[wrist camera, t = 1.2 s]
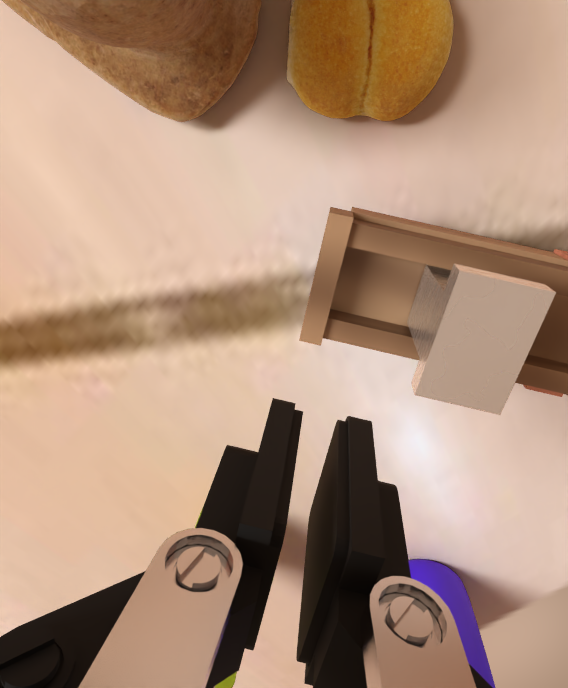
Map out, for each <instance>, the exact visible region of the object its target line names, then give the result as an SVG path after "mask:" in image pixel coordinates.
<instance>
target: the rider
mask: <svg viewBox="0 0 568 688" xmlns="http://www.w3.org/2000/svg"><path fill="white" fill-rule="evenodd" d="M555 294H556V292H555V291H553V290H552V289H551V288H549V287H548V286H547V285H545V284H541V283H537V282H533V281H528V280H524V279H520V278H515V277H511V276H506V275H502V274H498V273H493V272H489V271H484V270H480V269H476V268H471V267H467V266H462V265H458V264H453V267H452V270H449V269H444V268H440V267H435V266H431V265H427V264H426V266H425V269H424V272H423V275H422V278H421V281H420V284H419V287H418V290H417V293H416V296H415V299H414V302H413V305H412V308H411V311H410V314H409V317H408V320H407V323H408V326H409V329H410V332H411V335H412V338H413V341H414V344H415V347H416V350H417V353H418V356H419V358H420V360H419V363H418V365H417V368H416V371H415V374H414V377H413V379H412V382H411V384H412V387H413V391H414V394H415V395H417V396H421V397H426V398H430V399H434V400H438V401H443V402H447V403H451V404H456V405H460V406H464V407H468V408H473V409H477V410H481V411H485V412H490V413H494V414H498V415H500V414H501V412H502V410H503V408H504V405H505V403H506V401H507V399H508V397H509V395H510V392H511V390H512V388H513V386H514V384H515V381H516V379H517V377H518V375H519V373H520V371H521V368H522V366H523V364H524V362H525V360H526V357H527V355H528V353H529V351H530V349H531V346H532V344H533V342H534V340H535V338H536V336H537V333H538V331H539V329H540V327H541V325H542V322H543V320H544V318H545V316H546V314H547V311H548V309H549V307H550V305H551V303H552V301H553V298H554V296H555Z"/></svg>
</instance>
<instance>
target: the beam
mask: <svg viewBox="0 0 568 688" xmlns="http://www.w3.org/2000/svg"><path fill="white" fill-rule="evenodd" d="M426 264H427V265H431V266H435V267H440V268H444V269H449V270H452V267H453V264H458V265H462V266H467V267H471V268H476V269H480V270H484V271H489V272H493V273H498V274H502V275H506V276H511V277H515V278H520V279H524V280H528V281H533V282H537V283H541V284H545V285H547V286H548V287H549V288H551V289H552V290H553V291H555V292H556V294H555V296H554V298H553V301H552V303H551V305H550V307H549V309H548V311H547V314H546V316H545V318H544V320H543V322H542V325H541V327H540V329H539V331H538V333H537V336H536V338H535V340H534V342H533V344H532V346H531V349H530V351H529V353H528V355H527V357H526V360H525V362H524V364H523V366H522V368H521V371H520V373H519V375H518V377H517V379H516V381H515V383H519V384H523V385H524V387H525V388H526V389H530V390H534V391H538V392H543V393H547V394H551V395H556V396H560V397H562V395H563V394H566V395H568V252H566V251H562V250H557V249H555V250H554V252H549V251H545V250H541V249H536V248H532V247H527V246H523V245H518V244H514V243H510V242H505V241H501V240H496V239H492V238H487V237H483V236H479V235H474V234H470V233H465V232H461V231H456V230H452V229H448V228H443V227H439V226H434V225H430V224H426V223H421V222H417V221H412V220H408V219H403V218H399V217H395V216H390V215H386V214H381V213H377V212H372V211H368V210H364V209H359V208H355V207H352V210H351V211H346V210H342V209H337V208H333V207H330V212H329V216H328V220H327V224H326V229H325V233H324V237H323V241H322V245H321V250H320V254H319V258H318V262H317V267H316V271H315V275H314V279H313V284H312V288H311V292H310V296H309V300H308V305H307V309H306V313H305V317H304V322H303V326H302V330H301V335H300V340H299V341H304V342H308V343H312V344H317V345H321V342H322V338H325V339H330V340H334V341H338V342H343V343H347V344H351V345H355V346H360V347H364V348H368V349H373V350H377V351H381V352H386V353H390V354H394V355H398V356H403V357H407V358H411V359H416V360H420V358H419V356H418V353H417V350H416V347H415V344H414V341H413V338H412V335H411V332H410V329H409V326H408V323H407V320H408V317H409V314H410V311H411V308H412V305H413V302H414V299H415V296H416V293H417V290H418V287H419V284H420V281H421V278H422V275H423V272H424V269H425V266H426Z"/></svg>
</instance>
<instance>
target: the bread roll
mask: <svg viewBox="0 0 568 688" xmlns="http://www.w3.org/2000/svg"><path fill="white" fill-rule="evenodd" d="M453 24H454V21H453V14H452V9H451V5H450V2H449V0H292V2H291V12H290V24H289V29H290V30H289V44H288V59H287V81H288V82H289V83H290V84H291V85H292V86H293V87H294V89H295V90H296V92H297V94H298V96H299V97H300V99H301V100H302V101H303V103H304V104H305V105H306V106H307V107H308V108H310V109H311V110H313V111H315V112H317V113H320V114H322V115H324V116H327V117H330V118H349V117H352V116H355V115H364V116H369V117H371V118H374V119H378V120H381V121H391V120H395V119H398V118H400V117H402V116H404V115H406V114H408V113H409V112H410V111H412V110H413V109H414V108H415V107H416V106H417V105H418V104H419V103H420V102H422V101H423V100H424V98H425V97H426V96H427V95H428V94H429V93H430V91H431V90H432V89H433V88H434V86H435V84H436V82H437V81H438V79H439V77H440V75H441V73H442V71H443V69H444V67H445V65H446V63H447V60H448V58H449V54H450V50H451V45H452V36H453Z"/></svg>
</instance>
